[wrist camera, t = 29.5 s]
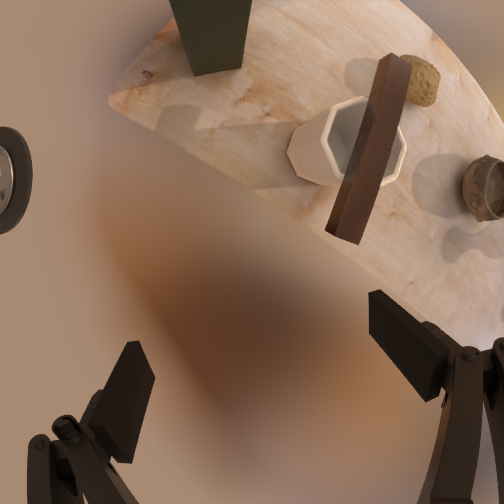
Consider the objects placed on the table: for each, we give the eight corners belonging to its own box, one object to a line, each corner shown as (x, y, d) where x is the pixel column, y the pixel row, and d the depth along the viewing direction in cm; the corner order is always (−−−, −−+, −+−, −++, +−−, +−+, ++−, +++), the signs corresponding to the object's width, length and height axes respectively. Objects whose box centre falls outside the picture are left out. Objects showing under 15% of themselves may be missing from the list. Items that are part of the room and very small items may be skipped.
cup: (346, 122, 45) (403, 102, 27) (349, 184, 48) (408, 192, 30) (284, 120, 45) (317, 90, 27) (287, 185, 47) (323, 192, 30)
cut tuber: (450, 72, 37) (453, 101, 35) (416, 91, 46) (414, 121, 44) (417, 37, 34) (417, 62, 32) (384, 62, 44) (379, 88, 42)
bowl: (445, 166, 49) (477, 168, 39) (482, 147, 48) (512, 148, 38) (459, 226, 52) (489, 235, 43) (494, 201, 52) (522, 208, 42)
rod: (324, 230, 31) (333, 236, 28) (379, 59, 26) (391, 52, 23) (347, 238, 31) (358, 245, 28) (399, 72, 26) (412, 65, 24)
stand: (194, 76, 41) (164, -14, 15) (186, 31, 39) (158, -68, 13) (241, 67, 42) (257, -28, 16) (231, 23, 39) (237, -80, 13)
